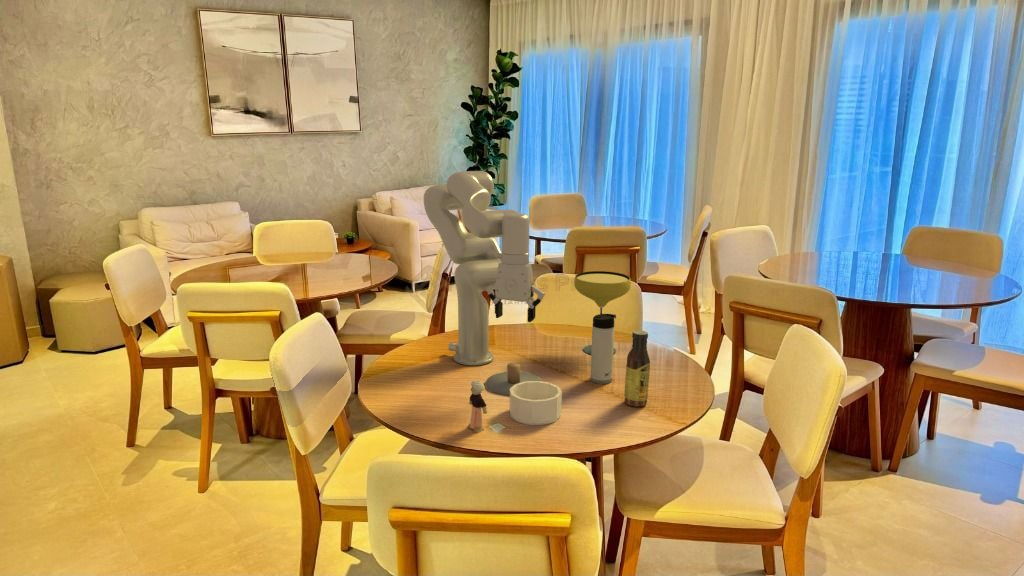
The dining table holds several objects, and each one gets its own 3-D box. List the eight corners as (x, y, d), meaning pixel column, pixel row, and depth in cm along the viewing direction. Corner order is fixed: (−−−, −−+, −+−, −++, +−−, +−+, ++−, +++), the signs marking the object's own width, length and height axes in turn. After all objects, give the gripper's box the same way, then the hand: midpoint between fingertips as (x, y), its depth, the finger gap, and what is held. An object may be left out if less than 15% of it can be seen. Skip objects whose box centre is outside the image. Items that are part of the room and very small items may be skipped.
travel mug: (612, 385, 191) (615, 318, 186) (589, 383, 192) (592, 316, 188) (613, 377, 197) (616, 312, 192) (591, 375, 198) (593, 310, 194)
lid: (476, 391, 187) (476, 370, 185) (499, 372, 201) (499, 352, 200) (529, 400, 181) (529, 378, 179) (549, 379, 195) (549, 359, 194)
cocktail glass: (594, 338, 233) (597, 268, 227) (637, 350, 220) (642, 277, 214) (561, 350, 220) (563, 276, 214) (605, 364, 208) (608, 286, 202)
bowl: (501, 419, 168) (502, 395, 167) (521, 400, 180) (522, 378, 178) (550, 429, 163) (550, 404, 162) (567, 409, 175) (568, 386, 173)
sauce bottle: (642, 409, 175) (646, 338, 170) (620, 404, 178) (623, 333, 173) (651, 401, 180) (655, 331, 175) (629, 396, 183) (633, 327, 179)
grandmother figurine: (460, 426, 164) (460, 378, 161) (472, 421, 167) (472, 374, 164) (481, 436, 159) (481, 387, 156) (493, 431, 162) (493, 383, 159)
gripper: (480, 258, 182) (481, 318, 186) (539, 264, 175) (538, 326, 179) (492, 254, 189) (492, 312, 193) (549, 259, 182) (548, 319, 186)
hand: (514, 318), depth 186 cm, fingers open, 9 cm apart
